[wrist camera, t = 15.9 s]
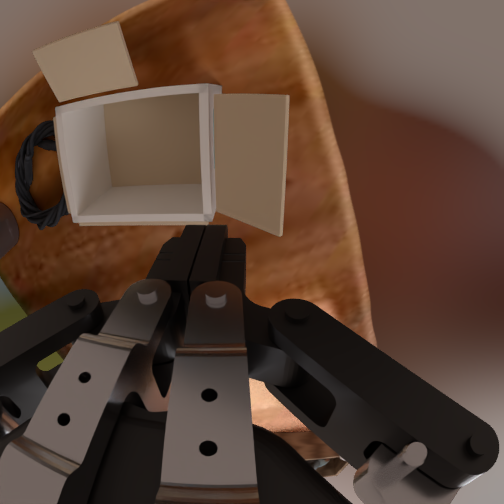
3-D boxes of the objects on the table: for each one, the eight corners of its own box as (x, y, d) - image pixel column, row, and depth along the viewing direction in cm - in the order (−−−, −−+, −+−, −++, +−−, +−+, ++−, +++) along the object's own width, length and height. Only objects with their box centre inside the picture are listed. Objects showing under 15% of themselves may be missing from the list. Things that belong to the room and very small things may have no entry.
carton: (106, 195, 38) (69, 227, 29) (95, 100, 31) (50, 108, 22) (224, 192, 37) (213, 227, 29) (222, 85, 30) (209, 83, 22)
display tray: (268, 457, 83) (269, 480, 75) (273, 432, 71) (274, 460, 63) (334, 453, 83) (337, 475, 75) (353, 427, 71) (357, 453, 63)
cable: (45, 232, 41) (31, 245, 37) (6, 166, 35) (-11, 175, 31) (111, 183, 37) (97, 194, 33) (66, 102, 31) (48, 106, 27)
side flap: (32, 52, 15) (34, 49, 16) (59, 102, 22) (60, 99, 22) (116, 22, 15) (118, 20, 16) (137, 85, 22) (138, 83, 22)
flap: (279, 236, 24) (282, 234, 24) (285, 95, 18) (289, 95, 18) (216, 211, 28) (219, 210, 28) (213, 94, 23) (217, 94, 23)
